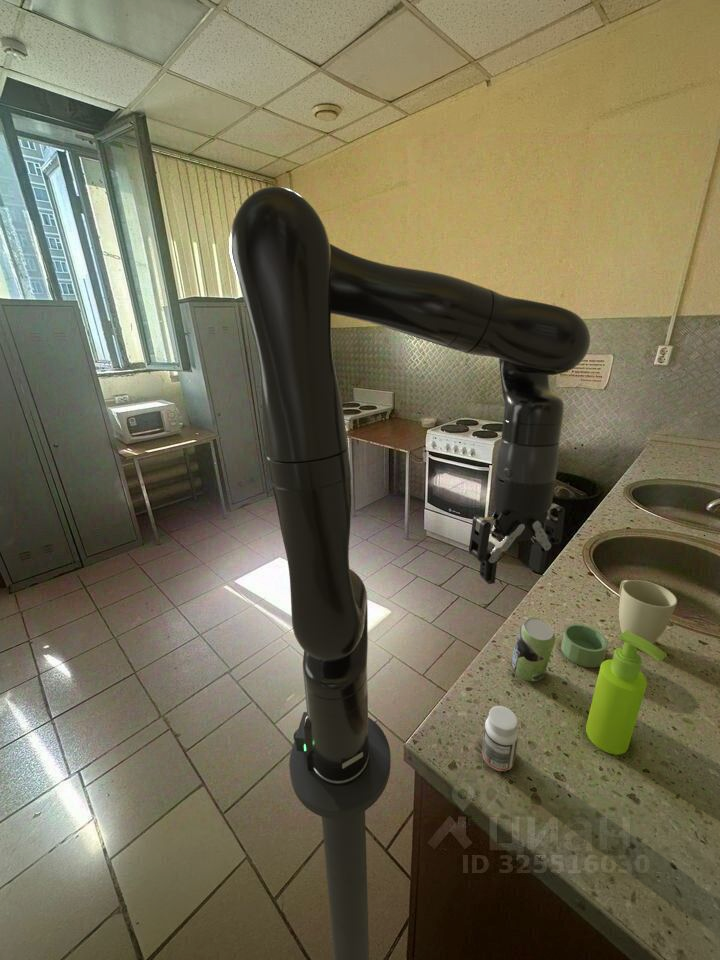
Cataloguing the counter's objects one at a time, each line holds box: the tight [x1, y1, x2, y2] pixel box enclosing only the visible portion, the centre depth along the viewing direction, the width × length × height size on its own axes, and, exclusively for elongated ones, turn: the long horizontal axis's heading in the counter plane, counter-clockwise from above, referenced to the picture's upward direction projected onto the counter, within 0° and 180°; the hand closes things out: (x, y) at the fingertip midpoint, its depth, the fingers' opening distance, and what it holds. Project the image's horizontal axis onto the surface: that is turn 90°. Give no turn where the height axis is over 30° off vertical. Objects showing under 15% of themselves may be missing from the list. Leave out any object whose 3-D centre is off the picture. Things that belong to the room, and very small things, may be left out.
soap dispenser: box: [585, 630, 668, 756], centre depth 59 cm, size 6×7×20 cm
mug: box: [618, 579, 678, 644], centre depth 82 cm, size 11×10×12 cm
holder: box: [560, 623, 608, 668], centre depth 79 cm, size 8×8×4 cm
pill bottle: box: [481, 705, 519, 772], centre depth 59 cm, size 5×5×8 cm
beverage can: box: [510, 617, 556, 682], centre depth 73 cm, size 6×7×12 cm
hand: (512, 575), depth 59 cm, fingers open, 8 cm apart
